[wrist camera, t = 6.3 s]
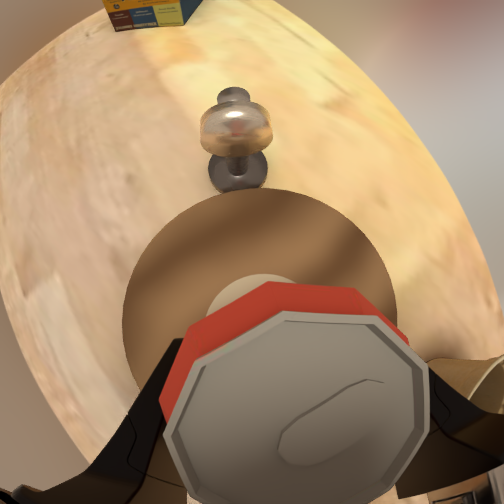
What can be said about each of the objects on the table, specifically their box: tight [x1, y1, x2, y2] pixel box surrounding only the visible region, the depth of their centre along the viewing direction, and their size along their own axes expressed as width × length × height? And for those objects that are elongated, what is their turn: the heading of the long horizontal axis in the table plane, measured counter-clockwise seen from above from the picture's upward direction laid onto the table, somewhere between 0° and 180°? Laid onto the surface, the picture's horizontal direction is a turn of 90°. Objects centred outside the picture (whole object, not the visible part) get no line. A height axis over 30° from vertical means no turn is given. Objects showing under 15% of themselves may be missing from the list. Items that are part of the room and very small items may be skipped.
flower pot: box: [426, 354, 504, 414], centre depth 14 cm, size 9×9×9 cm
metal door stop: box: [200, 87, 273, 194], centre depth 16 cm, size 4×4×9 cm
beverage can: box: [159, 281, 430, 504], centre depth 10 cm, size 6×6×12 cm
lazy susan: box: [122, 188, 397, 391], centre depth 18 cm, size 20×20×1 cm
